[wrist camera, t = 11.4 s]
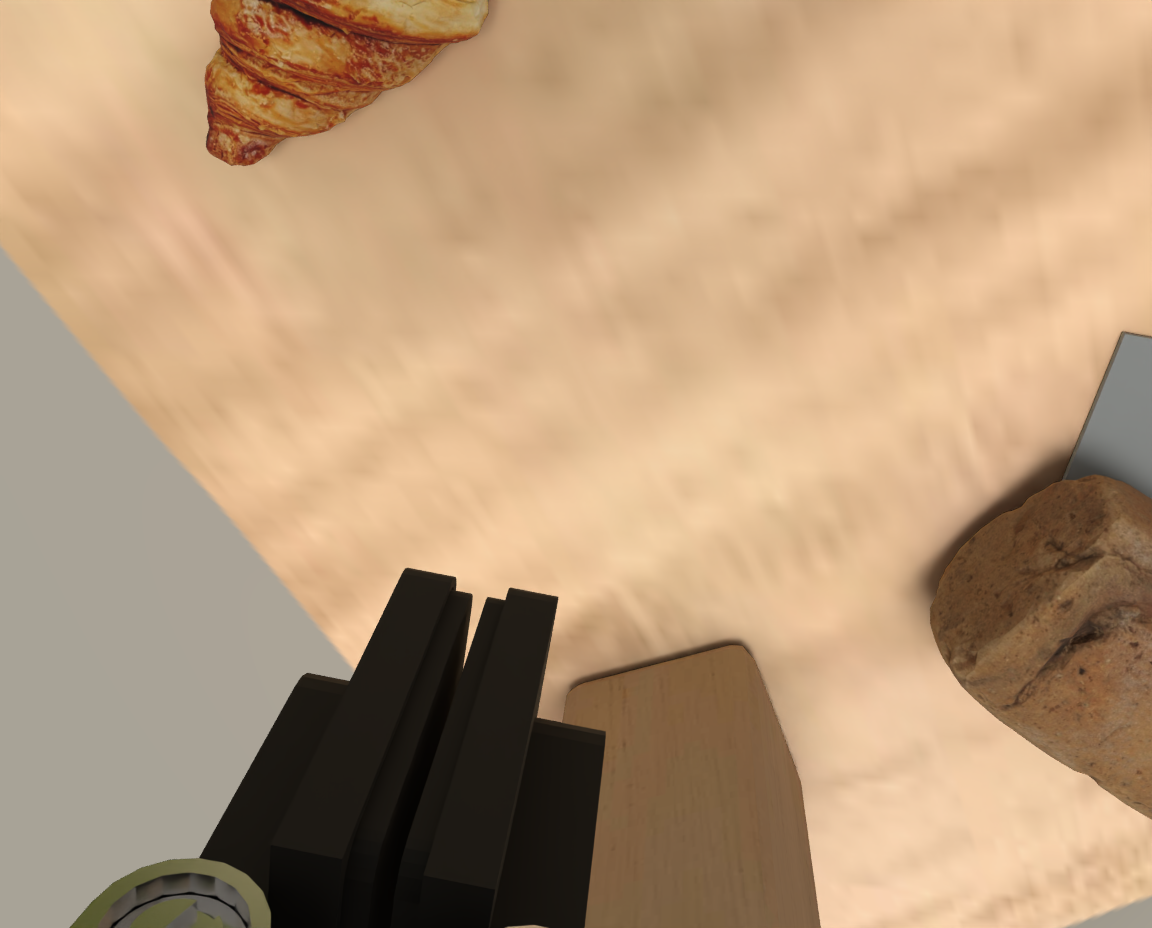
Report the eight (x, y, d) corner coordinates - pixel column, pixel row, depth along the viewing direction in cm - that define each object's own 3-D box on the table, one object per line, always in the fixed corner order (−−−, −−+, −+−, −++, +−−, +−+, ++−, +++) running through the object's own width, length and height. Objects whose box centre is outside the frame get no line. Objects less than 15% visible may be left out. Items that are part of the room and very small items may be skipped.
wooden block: (627, 822, 58) (599, 1203, 40) (561, 680, 54) (497, 1029, 36) (804, 782, 56) (858, 1169, 38) (747, 632, 52) (777, 979, 34)
